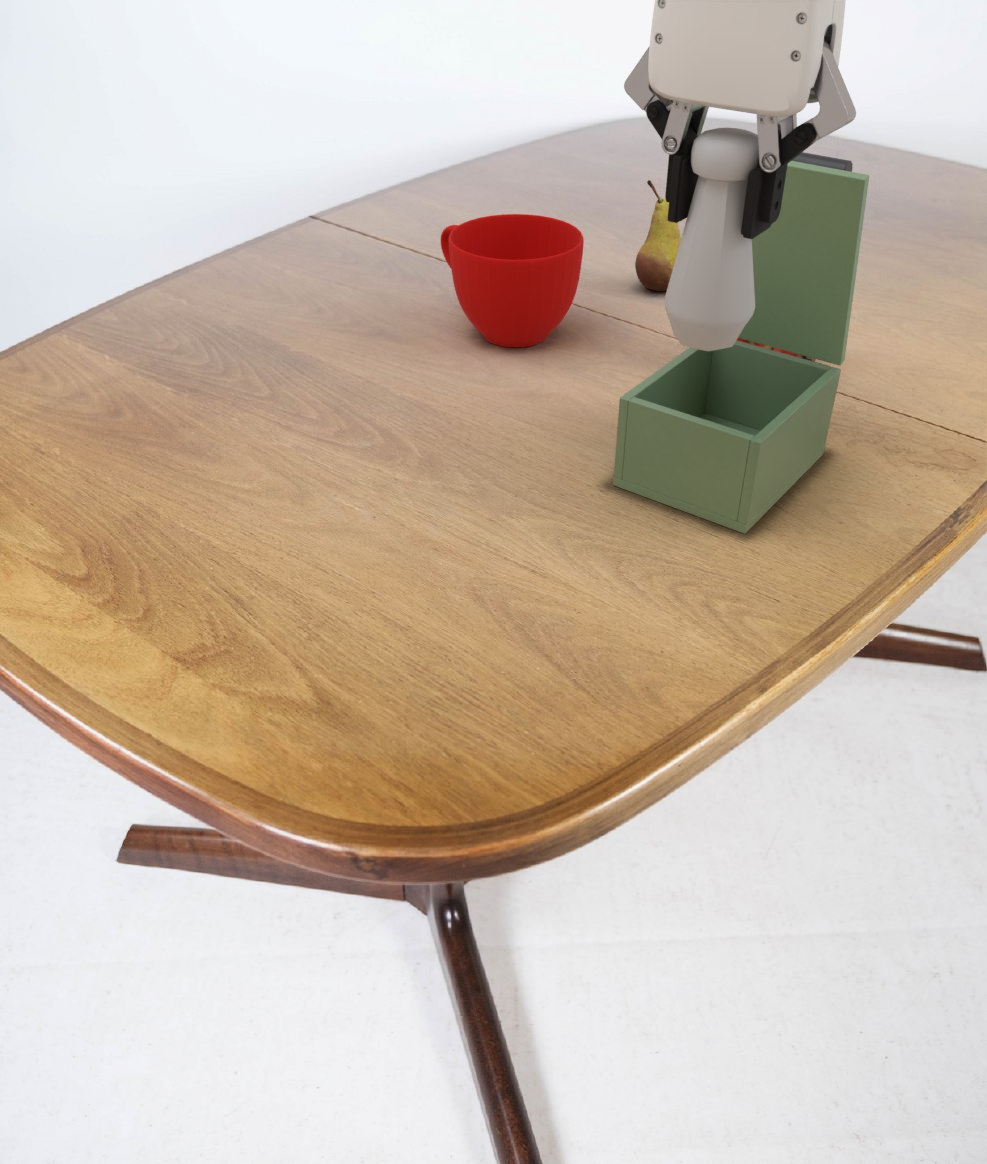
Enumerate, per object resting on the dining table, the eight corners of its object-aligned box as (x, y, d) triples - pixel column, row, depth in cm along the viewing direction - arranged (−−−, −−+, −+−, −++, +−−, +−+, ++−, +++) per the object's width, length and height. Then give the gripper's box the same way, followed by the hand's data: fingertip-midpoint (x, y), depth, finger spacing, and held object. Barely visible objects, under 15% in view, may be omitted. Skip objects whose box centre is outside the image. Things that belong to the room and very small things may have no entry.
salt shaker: (766, 348, 70) (800, 139, 62) (690, 363, 68) (715, 151, 61) (718, 314, 74) (744, 115, 67) (645, 328, 73) (663, 125, 65)
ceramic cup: (489, 288, 119) (488, 196, 113) (605, 334, 109) (611, 236, 103) (399, 322, 111) (393, 226, 105) (515, 374, 102) (516, 271, 96)
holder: (745, 534, 80) (760, 443, 76) (612, 485, 86) (619, 397, 81) (823, 454, 90) (841, 368, 85) (699, 414, 95) (709, 332, 91)
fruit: (684, 300, 116) (696, 186, 109) (631, 296, 117) (639, 183, 110) (687, 280, 120) (699, 170, 113) (636, 277, 121) (644, 167, 114)
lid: (865, 179, 74) (894, 148, 76) (712, 151, 79) (744, 122, 82) (840, 366, 85) (866, 333, 87) (708, 329, 90) (736, 299, 93)
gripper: (948, -125, 54) (872, 234, 65) (654, -137, 62) (631, 185, 73) (897, -114, 50) (825, 271, 61) (586, -129, 57) (572, 215, 68)
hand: (719, 221), depth 67 cm, fingers closed on salt shaker, 4 cm apart
